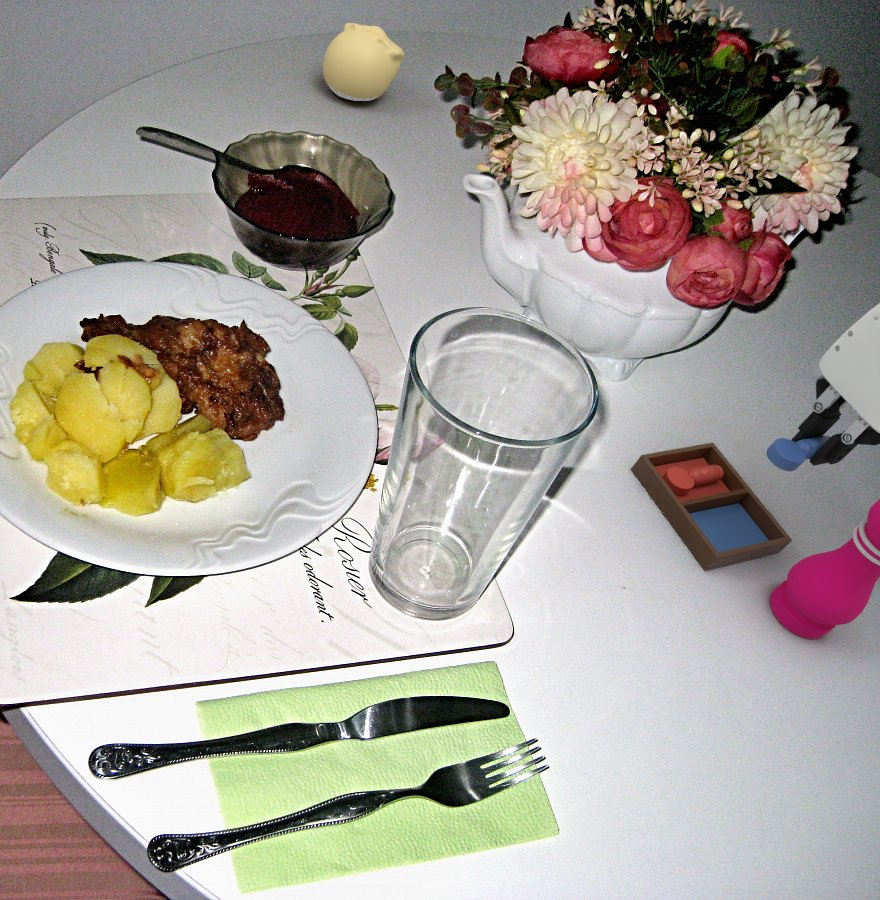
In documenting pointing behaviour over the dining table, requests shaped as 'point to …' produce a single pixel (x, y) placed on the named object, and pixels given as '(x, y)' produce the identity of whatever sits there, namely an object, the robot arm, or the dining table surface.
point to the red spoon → (691, 477)
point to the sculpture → (361, 61)
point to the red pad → (704, 490)
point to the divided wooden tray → (689, 527)
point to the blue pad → (728, 527)
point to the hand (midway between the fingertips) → (812, 450)
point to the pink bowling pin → (831, 583)
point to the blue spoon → (793, 451)
